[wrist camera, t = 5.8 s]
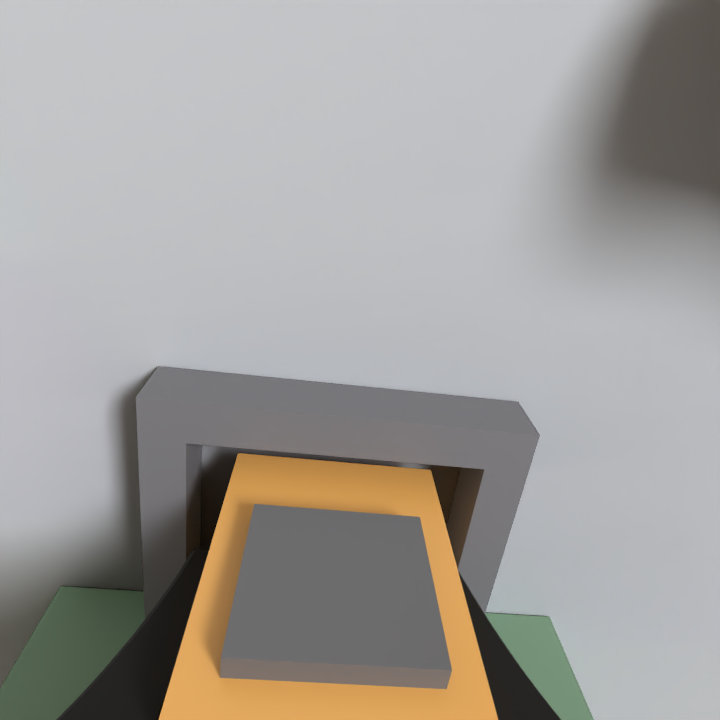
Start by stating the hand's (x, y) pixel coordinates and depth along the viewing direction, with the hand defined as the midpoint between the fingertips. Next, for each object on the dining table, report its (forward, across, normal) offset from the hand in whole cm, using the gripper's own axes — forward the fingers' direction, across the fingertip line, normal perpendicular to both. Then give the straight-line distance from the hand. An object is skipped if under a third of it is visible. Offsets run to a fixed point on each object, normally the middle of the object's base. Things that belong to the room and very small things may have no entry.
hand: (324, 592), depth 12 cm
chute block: (+2, 0, 0) cm, 2 cm away
